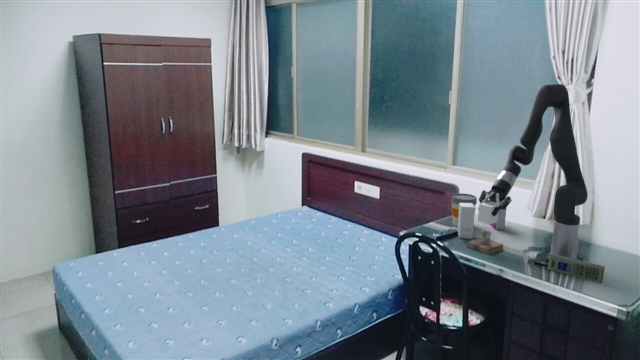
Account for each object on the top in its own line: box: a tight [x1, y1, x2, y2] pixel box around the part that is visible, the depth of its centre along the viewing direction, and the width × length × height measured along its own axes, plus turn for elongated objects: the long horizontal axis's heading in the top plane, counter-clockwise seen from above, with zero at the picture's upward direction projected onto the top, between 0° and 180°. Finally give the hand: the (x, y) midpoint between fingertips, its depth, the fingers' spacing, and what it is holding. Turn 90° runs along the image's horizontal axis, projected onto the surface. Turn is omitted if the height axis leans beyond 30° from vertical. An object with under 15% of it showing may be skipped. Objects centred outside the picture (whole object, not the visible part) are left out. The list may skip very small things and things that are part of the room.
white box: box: [477, 202, 498, 226], centre depth 213 cm, size 6×6×8 cm
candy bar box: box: [490, 200, 508, 231], centre depth 244 cm, size 11×5×16 cm, turn 179°
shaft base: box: [467, 228, 504, 255], centre depth 216 cm, size 11×11×8 cm
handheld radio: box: [533, 252, 606, 284], centre depth 190 cm, size 7×3×25 cm
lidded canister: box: [450, 192, 478, 227], centre depth 246 cm, size 13×13×15 cm
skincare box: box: [457, 203, 476, 239], centre depth 229 cm, size 8×7×16 cm
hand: (486, 213), depth 212 cm, fingers closed on white box, 6 cm apart
